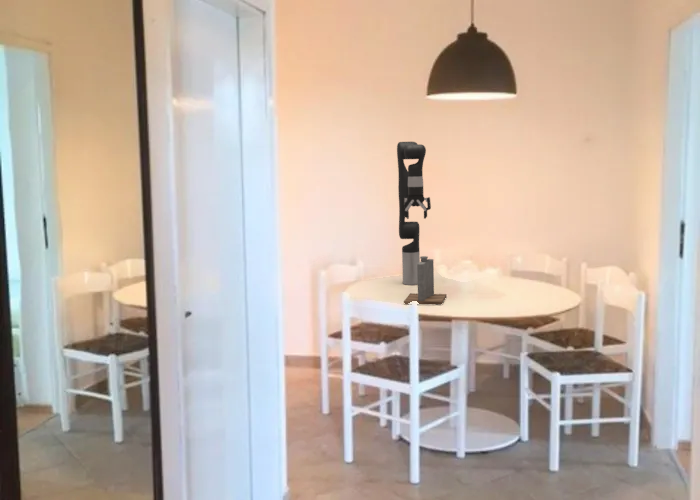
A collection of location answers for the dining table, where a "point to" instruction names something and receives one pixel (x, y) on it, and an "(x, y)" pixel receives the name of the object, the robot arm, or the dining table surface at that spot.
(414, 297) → the walnut board
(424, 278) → the hip flask
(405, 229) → the robot arm
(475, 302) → the dining table surface
